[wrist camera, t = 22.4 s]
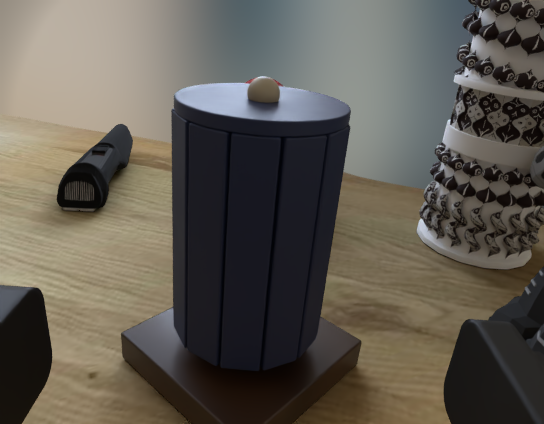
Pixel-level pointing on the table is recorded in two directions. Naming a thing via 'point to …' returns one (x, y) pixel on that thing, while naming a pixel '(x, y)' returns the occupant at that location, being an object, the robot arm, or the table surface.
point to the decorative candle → (491, 142)
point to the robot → (529, 289)
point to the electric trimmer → (95, 172)
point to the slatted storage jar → (253, 218)
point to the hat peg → (237, 375)
